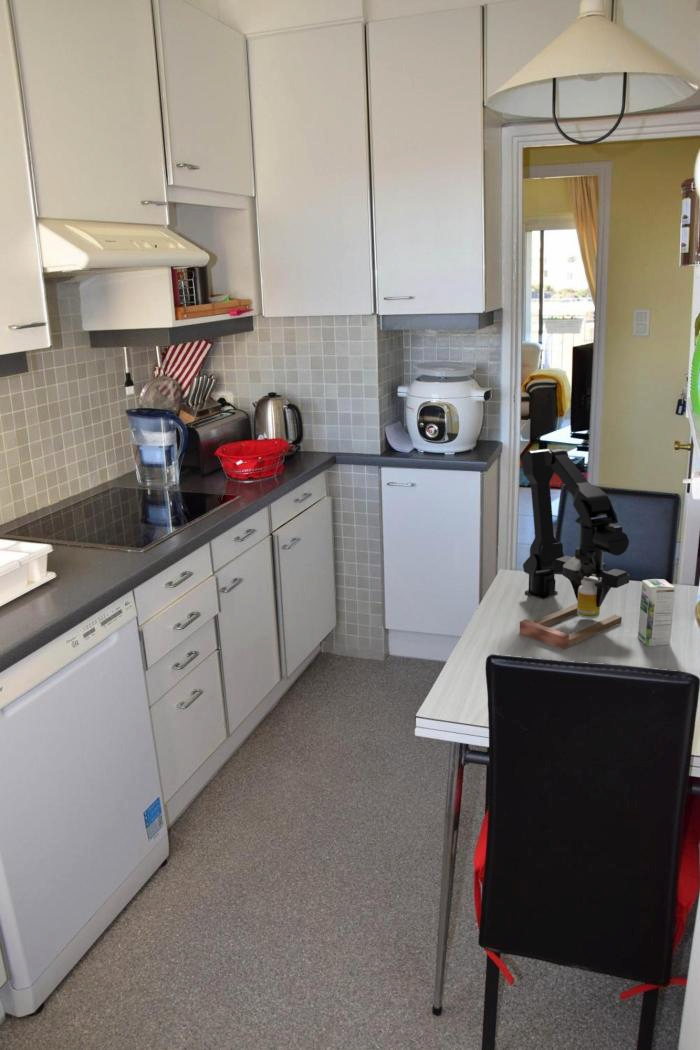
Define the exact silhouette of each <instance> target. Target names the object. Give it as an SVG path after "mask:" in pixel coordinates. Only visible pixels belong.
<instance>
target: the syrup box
mask: <svg viewBox="0 0 700 1050" xmlns="http://www.w3.org/2000/svg"><path fill="white" fill-rule="evenodd" d="M675 590H676V587H675V586H673V585H672V584H671V583H670V582H668V581H667V580H666V579H661V578H660V579H659V578H652V579H643V580H642V582H641V592H640V593H641V594H640V604H639V606H640V607H639V616H638V617H639V618H638V626H637V627H638V629H637V630H638V631H637V638H638V639H640V640H641V642H642V643H644V645H645V646H647V647H655V646H656V647H657V646H668V645H671V640H672V639H671V638H672V627H673V616H674V606H675V605H674V604H675V594H676V593H675V592H676V591H675Z"/></svg>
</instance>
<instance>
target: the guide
mask: <svg viewBox="0 0 700 1050" xmlns="http://www.w3.org/2000/svg"><path fill="white" fill-rule="evenodd" d="M577 604H578V602H576V603H574V604H572V605H569V606H567V607H565V608H563V609H560V610H557V611H555V612H552V613H550V614H548V615H545V616H542V617H541V618H538V619H535V620H533V621H530V620H528V619H523V620H520V621H519V634H521V635H524V636H526V637H529V638H532V639H533V640H537V641H540V642H543V643H546V644H548V645H551V646H554V647H556V648H559V649H561V650H565V649H568V647H571V646H573V645H576V644H578V643H580V642H582V641H584V640H586V639H589V638H591V637H593V636H596V635H598V634H600V633H602V632H604V631H606V630H608V629H611V628H613V627H615V626H617V625H619V624H622V619H623V618H622V616H621V615H617V614H612V615H610V616H608V617H606V618H603V619H602V620H599V621H597V622H595V623H592V624H590V625H589V626H586V627H583V628H581V629H578V630H576V631H574V632H572V633H570V634H568V633H565V632H562V631H559V630H557V629H554V628H551V627H549V626H552V625H554V624H556V623H559V622H561V621H563V620H566V619H569V618H570V617H573V616H575V615H578V614H577Z"/></svg>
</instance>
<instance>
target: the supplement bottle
mask: <svg viewBox="0 0 700 1050" xmlns="http://www.w3.org/2000/svg"><path fill="white" fill-rule="evenodd" d="M595 583H598V578H596V577H593V576H590V577H584V578H583V579H582V580H581V584H582V585H580V586H579V588H578V601H577V603H578V604H577V603H576V604H577V614H576V615H577V616H578V617H580V618H583V619H590V620H591V619H592V620H593V619H596V618H598V617H599V616H600V609H601V608H600V607H601V606H600V607H597V605H596V598H597V587H596V586H595Z"/></svg>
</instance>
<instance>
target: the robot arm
mask: <svg viewBox="0 0 700 1050" xmlns="http://www.w3.org/2000/svg"><path fill="white" fill-rule="evenodd" d="M520 461H521V462H520V463H521V466H522V471H523V475H524V476H525V478H526V480H527V481H528V482H529V484H530V490H531V503H532V516H533V529H534V539H533V541H532V543H531V545H530V548H529V557H528V558H527V559H526V560H525V562H524V563H523V564H522V567H523V572H524V573H525V574H526V575H528V589H527V590H525V591H524V594H526V595H529V596H533V597H536V598H539V599H540V600H541V599H542V600H544V599H547V598H550V597H551V596H556V595H557V594H558V592H559V591H557V590H556V578H555V575H556V574H555V573H561V574H562V576H563V577H564V578H566V579H567V580H569V583H570V584H571V586H572V589H573V592H574V595H575V599H576V601H577V602H578V588H579V586H580V585H582V584H581V580H582V579H583V578H584V577H590V576H591V575H592V576H596V577H599V578H600V582H598V583H595V586H596V587H597V598H596V605H597V607H601V606H602V604H603V602H604V600H605V599H606V597H607V595H608V593H609V591H611V589H612V588H613V589H618V588H620V587H623V586H624V585H627V584H629V583H630V574H629V573H628V572H627V571H625V570H622V569H618V568H613V569H610V570H608V571H606V570H604V569H605V568H606V567H607V565H606V562H604V553H608V554H611V555H613V556H617V557H618V556H621V555H623V554H624V553H625V552H627V549H628V547H629V544H630V539H629V537H628V535H627V534H626V533H625V532H624V531H623V526H622V525H616V524H618V523H619V520H618V517H617V513H616V511H615V510H614V507H613V504H612V501H611V499H610V497H609V495H608V494H606V492H604V491H603V490H602V489H601V488H600V487H598V486H596V485H593V484H591V483H590V482H589V481H588V480H587V479H586V477H585V476H584V475H583V473H582V472H581V471H580V469H579V468H578V467H577V465H575V463H574V462H573V460H572V459H571V457H569V453H568V451H567V450H566V449H563V448H560V449H559V448H558V449H549V448H542V449H532V450H526V451H524V453H523V456H522V457H521V460H520ZM554 474H556V475H557V477H558V478H559V479H560V481H561V482H562V483H563V485H564V486H565V488H567V490H568V491H569V493H570V494H571V496H572V498H573V499H572V505H573V508H574V509H575V511H576V513H577V514H578V517H577V518H576V519H575V520H574V521H575V523H577V524H578V525H580V526H579V544H578V545H579V546H578V547H576V548H575V552H574V554H573V556H569V555H564V550H563V548H564V545H563V543H562V542H559V541H558V539H557V538H556V537H555V532H554V520H553V507H552V494H551V480H552V479H553V477H554Z"/></svg>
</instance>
